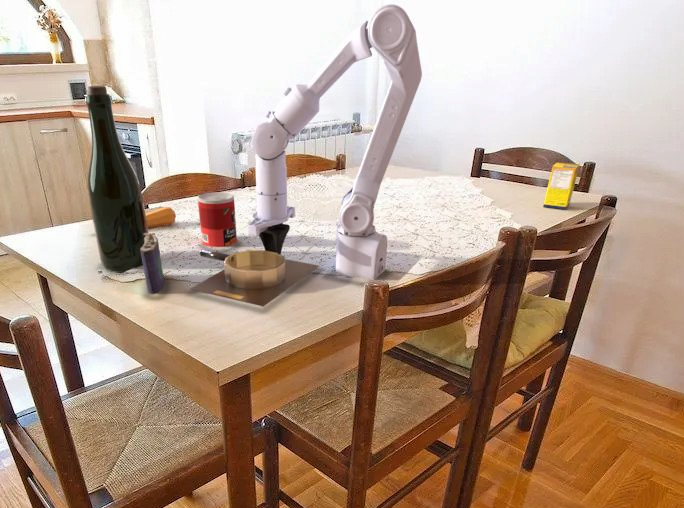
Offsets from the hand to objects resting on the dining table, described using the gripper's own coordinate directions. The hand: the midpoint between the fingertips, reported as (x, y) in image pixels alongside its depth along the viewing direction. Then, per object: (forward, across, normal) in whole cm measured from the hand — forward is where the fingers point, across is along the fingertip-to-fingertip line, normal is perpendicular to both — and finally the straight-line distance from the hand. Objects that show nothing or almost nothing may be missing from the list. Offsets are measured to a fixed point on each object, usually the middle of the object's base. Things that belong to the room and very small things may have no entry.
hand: (273, 261), depth 106 cm
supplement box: (+2, -79, +44) cm, 91 cm away
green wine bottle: (+2, +11, -29) cm, 31 cm away
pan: (+1, +7, -4) cm, 8 cm away
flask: (+2, +18, -15) cm, 24 cm away
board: (+2, +6, 0) cm, 7 cm away
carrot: (+2, -9, -45) cm, 46 cm away
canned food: (+2, -8, -19) cm, 21 cm away
